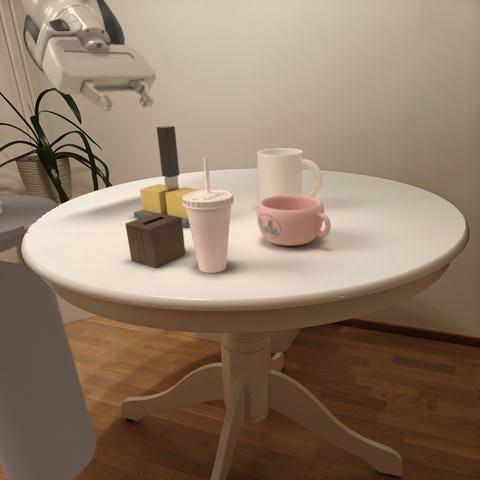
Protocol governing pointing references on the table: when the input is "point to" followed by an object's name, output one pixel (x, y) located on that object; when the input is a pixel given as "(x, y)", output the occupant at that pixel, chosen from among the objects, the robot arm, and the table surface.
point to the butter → (165, 200)
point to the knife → (168, 156)
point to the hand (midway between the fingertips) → (129, 106)
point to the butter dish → (144, 213)
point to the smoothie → (209, 224)
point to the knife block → (155, 239)
